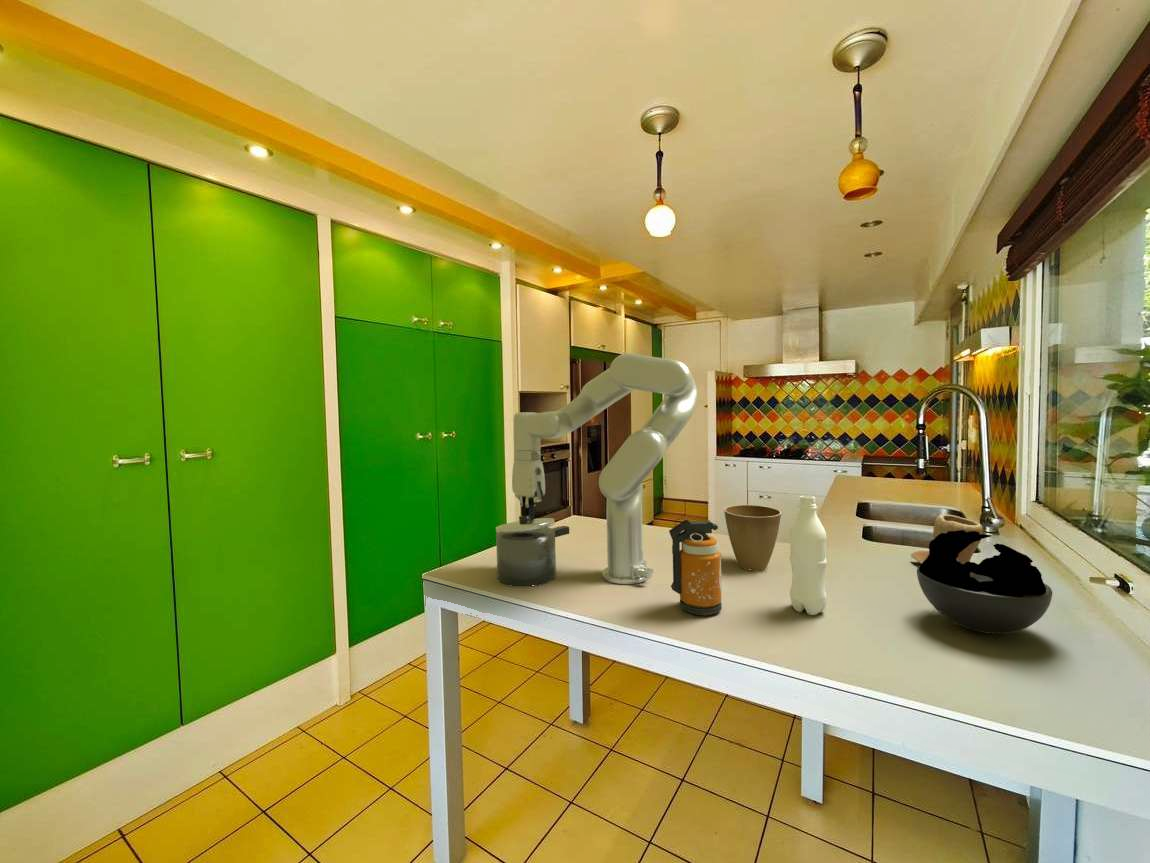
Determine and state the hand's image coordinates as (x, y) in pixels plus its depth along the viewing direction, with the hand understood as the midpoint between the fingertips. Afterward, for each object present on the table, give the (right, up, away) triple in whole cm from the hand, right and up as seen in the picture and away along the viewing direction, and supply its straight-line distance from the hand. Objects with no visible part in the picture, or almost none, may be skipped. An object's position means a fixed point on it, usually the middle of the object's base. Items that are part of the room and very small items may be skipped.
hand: (527, 520), depth 133 cm
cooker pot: (+2, -14, -1) cm, 15 cm away
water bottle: (+64, -14, -31) cm, 73 cm away
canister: (+40, -15, -28) cm, 52 cm away
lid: (0, -1, -5) cm, 5 cm away
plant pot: (+63, -13, -2) cm, 65 cm away
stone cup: (+112, -12, -10) cm, 113 cm away
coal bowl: (+93, -14, -41) cm, 103 cm away
